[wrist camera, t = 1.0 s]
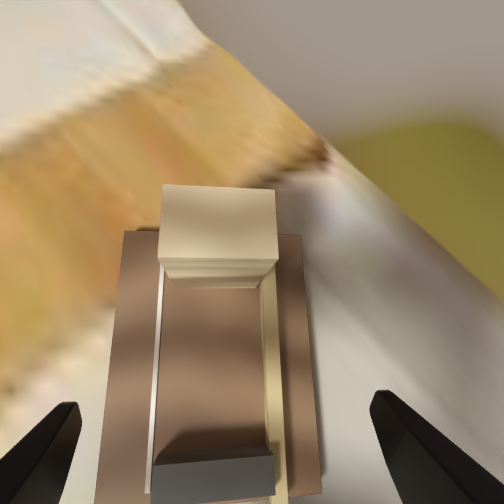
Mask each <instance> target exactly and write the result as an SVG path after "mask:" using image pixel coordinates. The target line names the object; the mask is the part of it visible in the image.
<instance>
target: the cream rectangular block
mask: <svg viewBox="0 0 504 504" xmlns="http://www.w3.org/2000/svg"><path fill="white" fill-rule="evenodd" d="M278 259H279V255H278V238H277V221H276V205H275V190H270V189H250V188H229V187H208V186H187V185H167V184H163V189H162V203H161V216H160V230H159V244H158V263H161V264H162V266H163V268H164V270H165V271H166V273H167V275H168V277H169V279H170V280H171V282H172V284H173V286H174V288H255V287H256V286H257V285H258V284H259V283H260V281H261V280H262V279H263V278H264V276H265V275H266V274H267V273H268V271H269V270H270V269H271V268H272V267H273V265H274V264H275V263H276V262H277V260H278Z"/></svg>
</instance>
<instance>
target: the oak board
mask: <svg viewBox="0 0 504 504" xmlns="http://www.w3.org/2000/svg"><path fill="white" fill-rule="evenodd" d="M277 238H278V255H279V259H278V260H277V262H276V263H275V264H274V265H273V267H272V268H271V269H270V270H269V271H268V273H267V274H266V275H265V276H264V278H263V279H262V280H261V281H260V283H259V284H258V285H257V286H256V287H255V288H174V286H173V284H172V282H171V280H170V279H169V277H168V275H167V273H166V271H165V270H164V268H163V266H162V264H161V263H158V244H159V231H124V240H123V248H122V257H121V266H120V275H119V284H118V293H117V302H116V311H115V320H114V329H113V338H112V347H111V356H110V365H109V374H108V383H107V392H106V401H105V410H104V419H103V428H102V437H101V446H100V455H99V464H98V473H97V481H96V490H95V499H94V504H231V503H240V502H249V501H258V500H267V499H268V500H269V503H270V504H288V497H295V496H304V495H313V494H322V483H321V472H320V460H319V448H318V437H317V425H316V413H315V402H314V390H313V378H312V367H311V355H310V343H309V332H308V320H307V308H306V297H305V285H304V273H303V262H302V250H301V238H300V235H281V234H277Z"/></svg>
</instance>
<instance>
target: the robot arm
mask: <svg viewBox="0 0 504 504" xmlns="http://www.w3.org/2000/svg"><path fill="white" fill-rule="evenodd" d="M370 416H371V419H372V422H373V425H374V428H375V431H376V434H377V437H378V440H379V443H380V446H381V450H382V453H383V456H384V459H385V462H386V464H387V467H388V470H389V472H390V475H391V477H392V479H393V482H394V484H395V486H396V489H397V491H398V493H399V496H400V498H401V501H402V503H403V504H504V485H503V484H502V483H501V482H500V481H499V480H497V479H496V478H495V477H494V476H493V475H491V474H490V473H489V472H488V471H487V470H485V469H484V468H483V467H482V466H481V465H479V464H478V463H477V462H476V461H475V460H473V459H472V458H471V457H470V456H469V455H467V454H466V453H465V452H464V451H463V450H461V449H460V448H459V447H458V446H457V445H455V444H454V443H453V442H452V441H450V440H449V439H448V438H447V437H446V436H444V435H443V434H442V433H441V432H440V431H438V430H437V429H436V428H435V427H434V426H432V425H431V424H430V423H429V422H428V421H426V420H425V419H424V418H423V417H422V416H420V415H419V414H418V413H417V412H416V411H414V410H413V409H412V408H411V407H410V406H408V405H407V404H406V403H405V402H404V401H402V400H401V399H400V398H399V397H398V396H396V395H395V394H394V393H393V392H391V391H389V390H378V391H376V392H375V395H374V397H373V400H372V402H371V405H370ZM81 427H82V418H81V414H80V409H79V405H78V403H77V402H62V403H60V404H58V405H57V406H56V407H55V408H54V409H53V410H52V411H51V412H50V413H49V414H48V415H47V416H46V417H44V418H43V419H42V420H41V421H40V422H39V423H38V424H37V425H36V426H35V427H34V428H33V429H32V430H31V431H30V432H29V433H28V434H27V435H25V436H24V437H23V438H22V439H21V440H20V441H19V442H18V443H17V444H16V445H15V446H14V447H13V448H12V449H11V450H10V451H9V452H8V453H6V454H5V455H4V456H3V457H2V458H1V459H0V504H59V501H60V498H61V495H62V493H63V490H64V486H65V483H66V480H67V476H68V473H69V469H70V466H71V463H72V459H73V456H74V452H75V449H76V445H77V442H78V438H79V435H80V432H81Z"/></svg>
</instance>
